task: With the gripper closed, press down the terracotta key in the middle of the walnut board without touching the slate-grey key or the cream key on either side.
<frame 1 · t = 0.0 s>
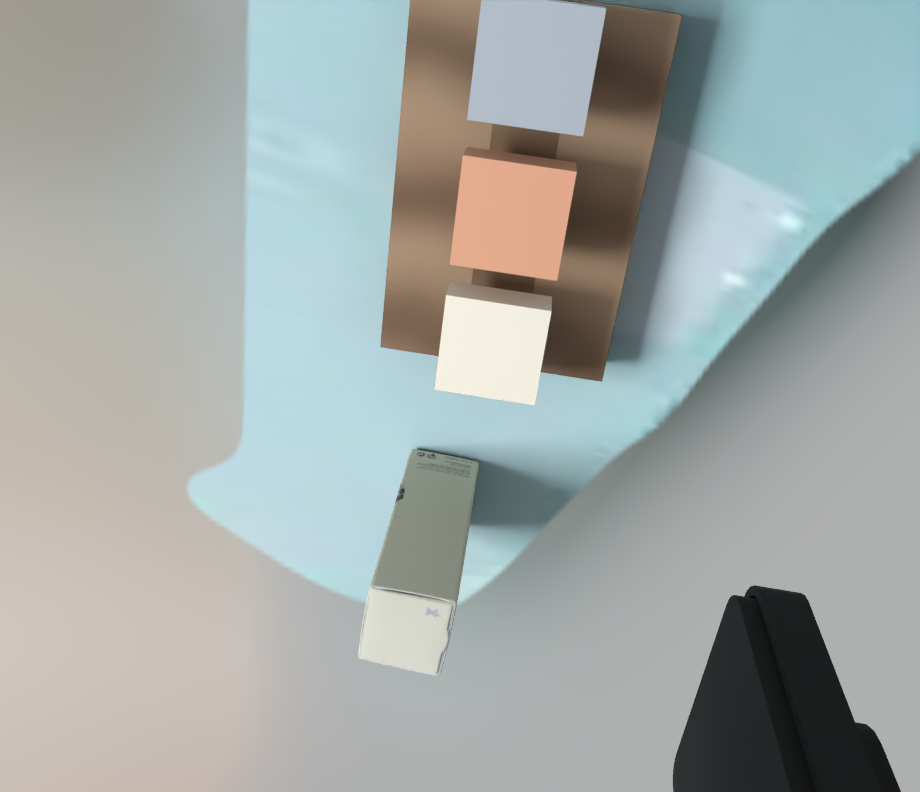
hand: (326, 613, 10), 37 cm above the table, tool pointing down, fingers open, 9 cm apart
box: (439, 486, 53), on the table
cream key: (494, 333, 44), point 4 cm above the table, slide at 0.0 cm
terracotta key: (513, 207, 41), point 4 cm above the table, slide at 0.0 cm
slate key: (535, 60, 38), point 4 cm above the table, slide at 0.0 cm
walnut board: (518, 186, 44), on the table
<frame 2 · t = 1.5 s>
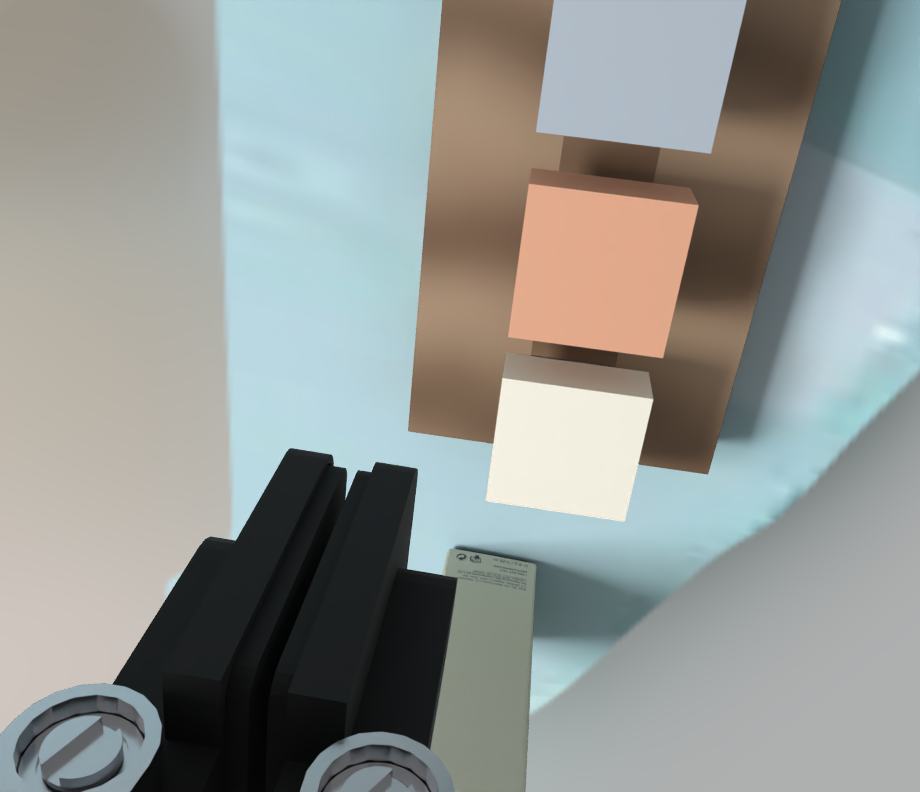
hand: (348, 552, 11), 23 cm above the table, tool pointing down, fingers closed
box: (485, 591, 42), on the table
cream key: (566, 420, 32), point 4 cm above the table, slide at 0.0 cm
terracotta key: (596, 251, 29), point 4 cm above the table, slide at 0.0 cm
slate key: (634, 40, 25), point 4 cm above the table, slide at 0.0 cm
walnut board: (593, 214, 32), on the table
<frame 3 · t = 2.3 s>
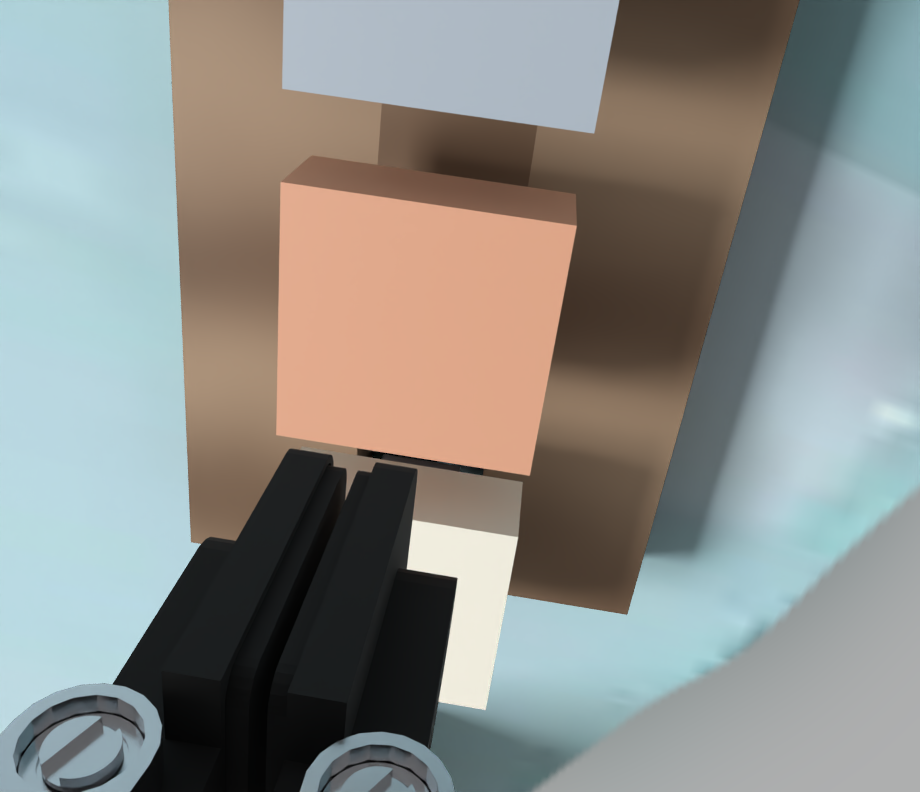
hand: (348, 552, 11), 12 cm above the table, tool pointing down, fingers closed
cream key: (403, 545, 21), point 4 cm above the table, slide at 0.0 cm
terracotta key: (431, 293, 18), point 4 cm above the table, slide at 0.0 cm
walnut board: (455, 230, 21), on the table
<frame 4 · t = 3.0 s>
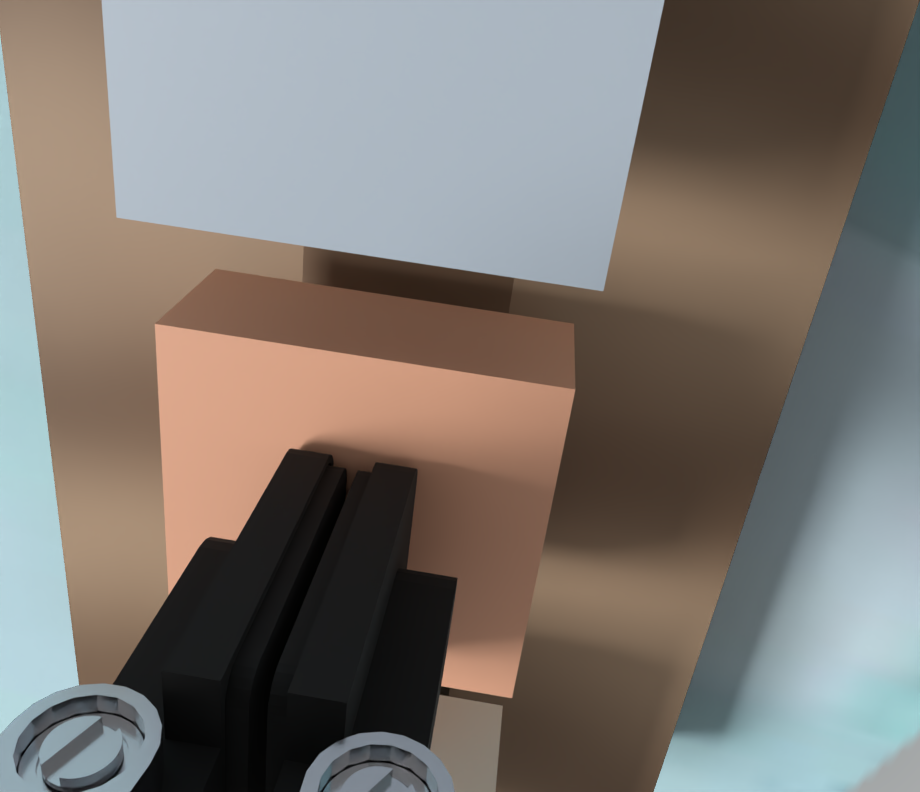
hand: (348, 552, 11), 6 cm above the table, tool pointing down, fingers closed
cream key: (347, 769, 16), point 4 cm above the table, slide at 0.0 cm
terracotta key: (382, 442, 13), point 3 cm above the table, slide at 0.8 cm, touching gripper
walnut board: (417, 349, 16), on the table
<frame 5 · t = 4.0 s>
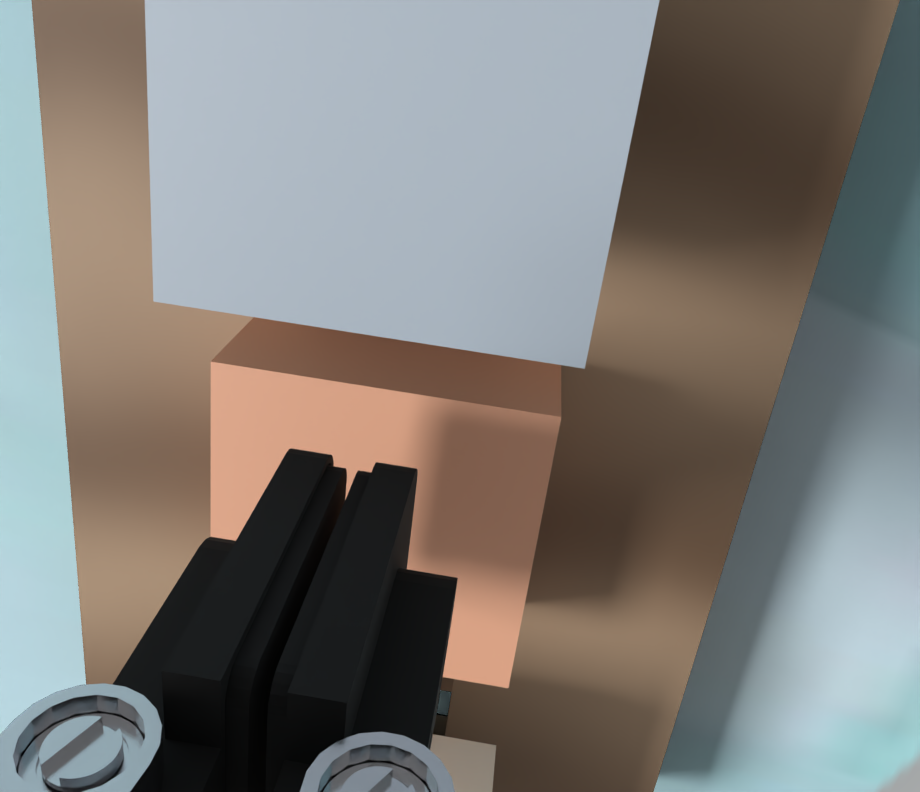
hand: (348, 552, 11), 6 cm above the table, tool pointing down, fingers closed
terracotta key: (395, 465, 15), point 2 cm above the table, slide at 1.8 cm
slate key: (418, 86, 11), point 4 cm above the table, slide at 0.0 cm
walnut board: (416, 406, 17), on the table
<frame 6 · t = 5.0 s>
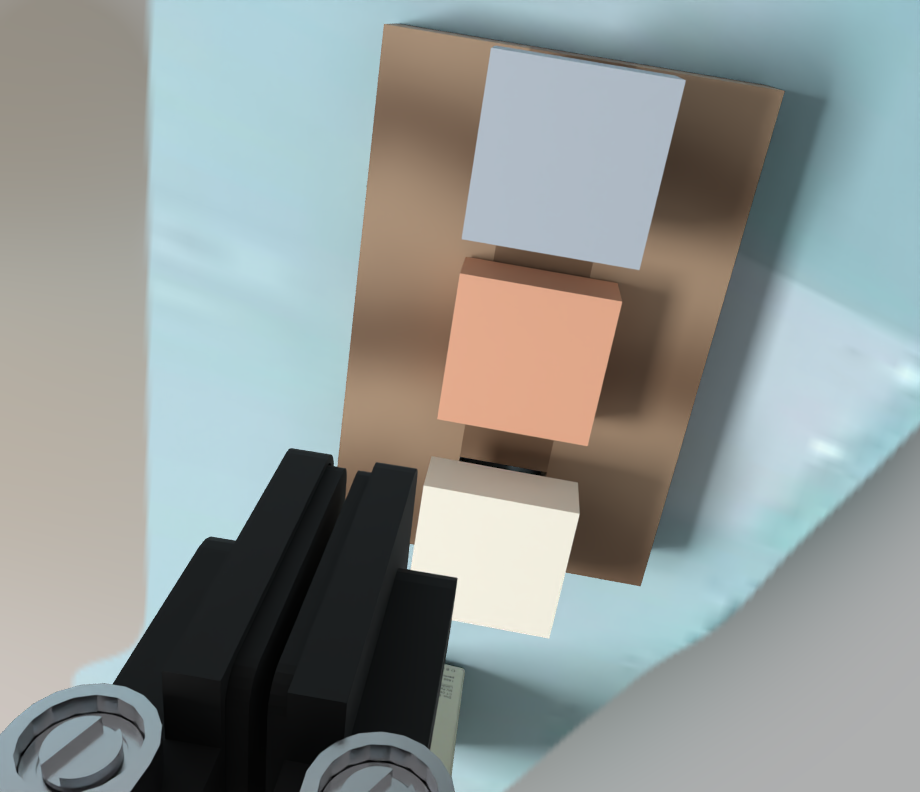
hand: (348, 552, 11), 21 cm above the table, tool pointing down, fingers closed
box: (411, 695, 40), on the table
cream key: (492, 527, 30), point 4 cm above the table, slide at 0.0 cm
terracotta key: (527, 338, 29), point 2 cm above the table, slide at 1.8 cm
slate key: (567, 151, 25), point 4 cm above the table, slide at 0.0 cm
walnut board: (529, 315, 31), on the table
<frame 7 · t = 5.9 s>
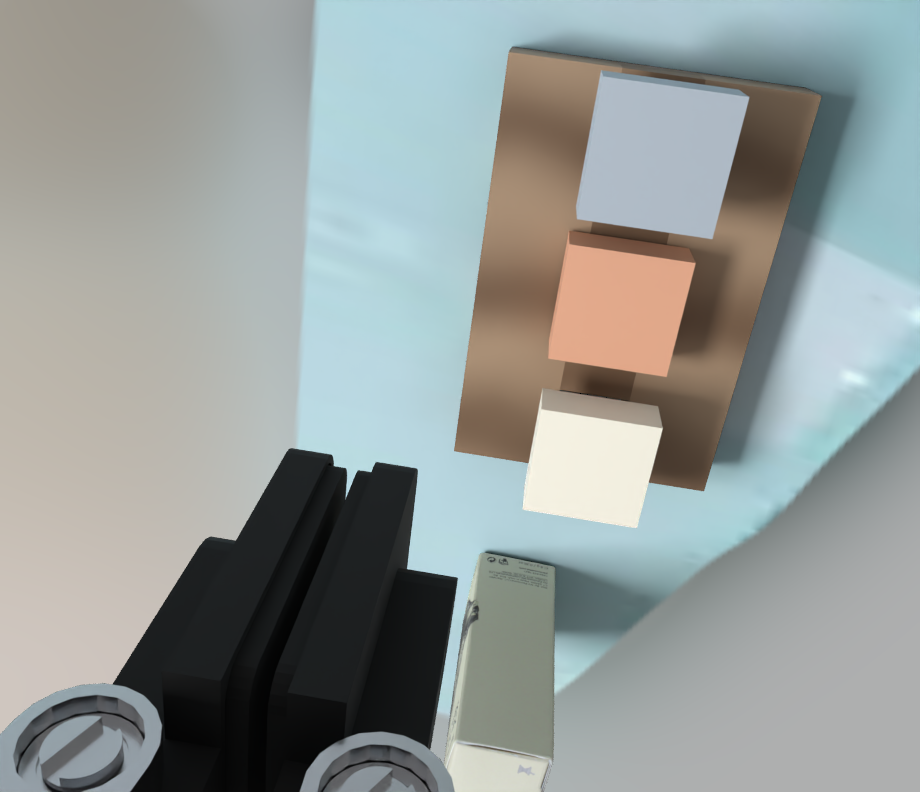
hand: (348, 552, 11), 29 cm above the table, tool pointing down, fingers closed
box: (509, 590, 48), on the table
cream key: (589, 444, 38), point 4 cm above the table, slide at 0.0 cm
terracotta key: (616, 293, 37), point 2 cm above the table, slide at 1.8 cm
slate key: (653, 148, 33), point 4 cm above the table, slide at 0.0 cm
walnut board: (613, 275, 39), on the table
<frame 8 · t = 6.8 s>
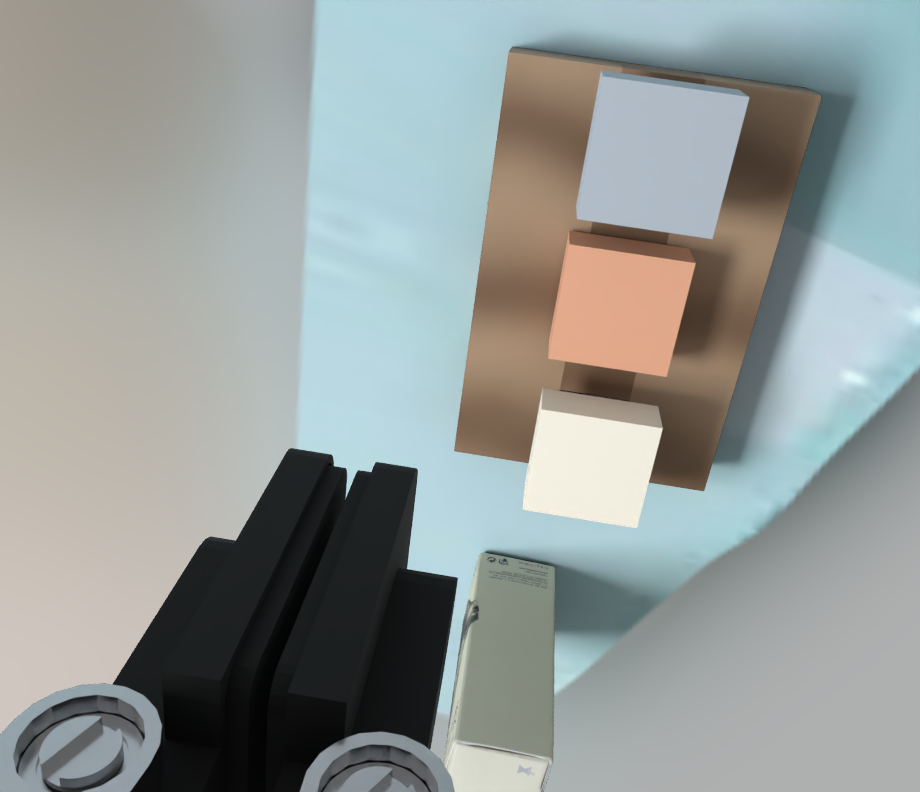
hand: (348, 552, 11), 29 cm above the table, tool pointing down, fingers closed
box: (509, 590, 48), on the table
cream key: (589, 444, 38), point 4 cm above the table, slide at 0.0 cm
terracotta key: (616, 293, 37), point 2 cm above the table, slide at 1.8 cm
slate key: (653, 148, 33), point 4 cm above the table, slide at 0.0 cm
walnut board: (613, 275, 39), on the table
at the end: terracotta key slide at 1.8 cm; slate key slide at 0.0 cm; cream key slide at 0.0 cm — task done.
